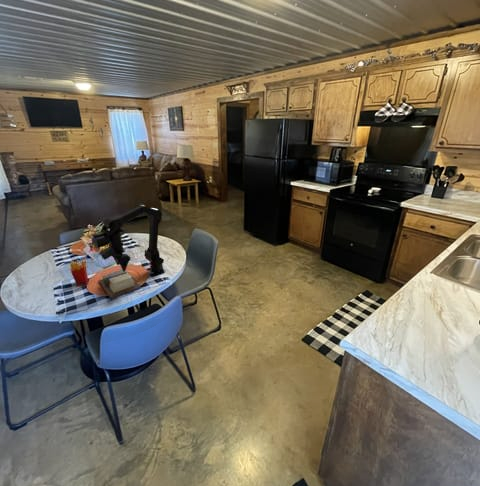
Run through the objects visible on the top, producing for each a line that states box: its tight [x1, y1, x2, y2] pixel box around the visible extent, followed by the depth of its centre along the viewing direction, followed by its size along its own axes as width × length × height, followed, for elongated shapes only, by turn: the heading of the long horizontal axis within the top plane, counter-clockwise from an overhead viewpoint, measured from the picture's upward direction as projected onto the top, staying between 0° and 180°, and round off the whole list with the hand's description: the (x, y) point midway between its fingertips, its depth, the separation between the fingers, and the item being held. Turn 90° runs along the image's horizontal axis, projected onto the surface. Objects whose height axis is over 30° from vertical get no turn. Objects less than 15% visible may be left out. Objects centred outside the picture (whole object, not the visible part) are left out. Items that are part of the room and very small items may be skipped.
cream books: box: [110, 279, 134, 293], centre depth 143 cm, size 11×6×4 cm, turn 131°
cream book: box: [109, 272, 133, 287], centre depth 142 cm, size 10×6×2 cm, turn 131°
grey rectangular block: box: [102, 269, 127, 284], centre depth 151 cm, size 12×5×4 cm, turn 131°
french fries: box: [69, 259, 89, 287], centre depth 146 cm, size 9×8×15 cm
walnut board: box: [98, 270, 142, 300], centre depth 148 cm, size 16×22×1 cm
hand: (121, 267), depth 142 cm, fingers open, 9 cm apart
